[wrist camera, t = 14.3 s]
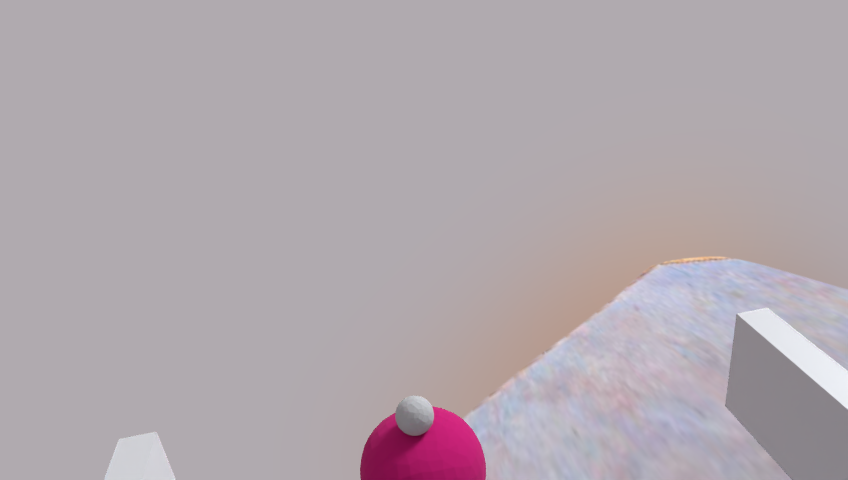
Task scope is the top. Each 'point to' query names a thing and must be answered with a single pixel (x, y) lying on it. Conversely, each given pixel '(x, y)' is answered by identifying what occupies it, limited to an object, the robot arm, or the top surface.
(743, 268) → the top surface
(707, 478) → the top surface
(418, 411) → the pepper mill
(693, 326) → the top surface
